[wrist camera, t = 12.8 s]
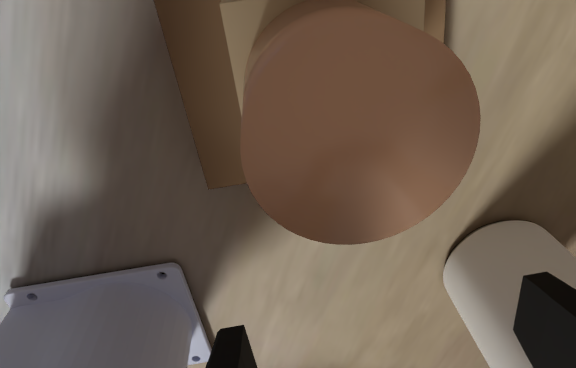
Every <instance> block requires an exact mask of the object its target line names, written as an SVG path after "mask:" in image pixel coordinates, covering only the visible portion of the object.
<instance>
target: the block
mask: <svg viewBox="0 0 576 368" xmlns="http://www.w3.org/2000/svg"><path fill="white" fill-rule="evenodd" d="M303 1H306V0H222V1H221V2H220V4H219V5H220V10H221V15H222V20H223V25H224V30H225V35H226V40H227V45H228V50H229V55H230V60H231V65H232V71H233V76H234V81H235V86H236V91H237V96H238V101H239V106H240V111H241V116H242V105H243V88H244V75H245V68H246V64H247V60H248V57H249V54H250V52H251V49H252V47H253V45H254V43H255V42H256V40H257V38H258V36H259V35H260V34H261V32H262V31H263V30H264V29H265V27H266V26H267V25H268V24H269V23H270V22H271V21H272V20H273V19H274V18H275V17H277V16H278V15H279V14H281V13H282V12H283V11H285V10H286V9H288V8H290V7H292V6H294V5H296V4H298V3H301V2H303ZM356 1H358V2H361V3H363V4H366V5H368V6H370V7H372V8H374V9H376V10H379V11H381V12H383V13H385V14H387V15H389V16H391V17H394V18H396V19H398V20H400V21H402V22H404V23H407V24H409V25H411V26H413V27H415V28H417V29H419V30H422V31H424V13H425V0H356Z"/></svg>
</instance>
